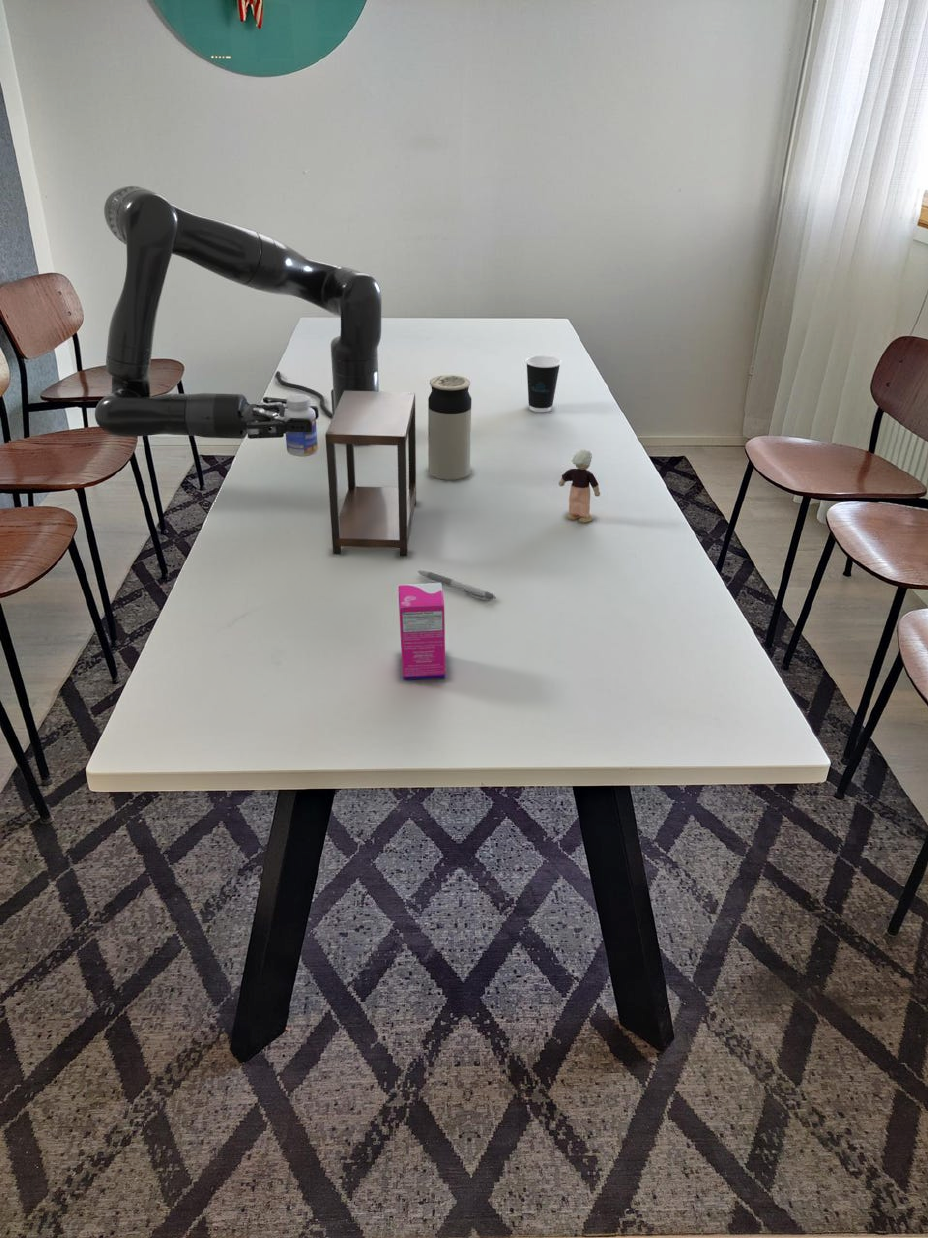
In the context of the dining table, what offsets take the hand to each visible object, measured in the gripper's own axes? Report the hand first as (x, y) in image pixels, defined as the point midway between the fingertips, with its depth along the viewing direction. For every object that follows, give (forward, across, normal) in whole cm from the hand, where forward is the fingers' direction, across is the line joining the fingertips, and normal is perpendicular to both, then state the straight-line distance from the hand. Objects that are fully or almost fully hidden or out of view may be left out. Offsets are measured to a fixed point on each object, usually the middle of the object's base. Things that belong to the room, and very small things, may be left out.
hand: (314, 418), depth 157 cm
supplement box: (+22, -51, +15) cm, 58 cm away
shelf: (+11, -11, +15) cm, 22 cm away
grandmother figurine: (+46, -4, +15) cm, 49 cm away
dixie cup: (+42, +51, +15) cm, 68 cm away
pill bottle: (-3, 0, +6) cm, 7 cm away
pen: (+26, -30, +15) cm, 43 cm away
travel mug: (+23, +13, +15) cm, 30 cm away
